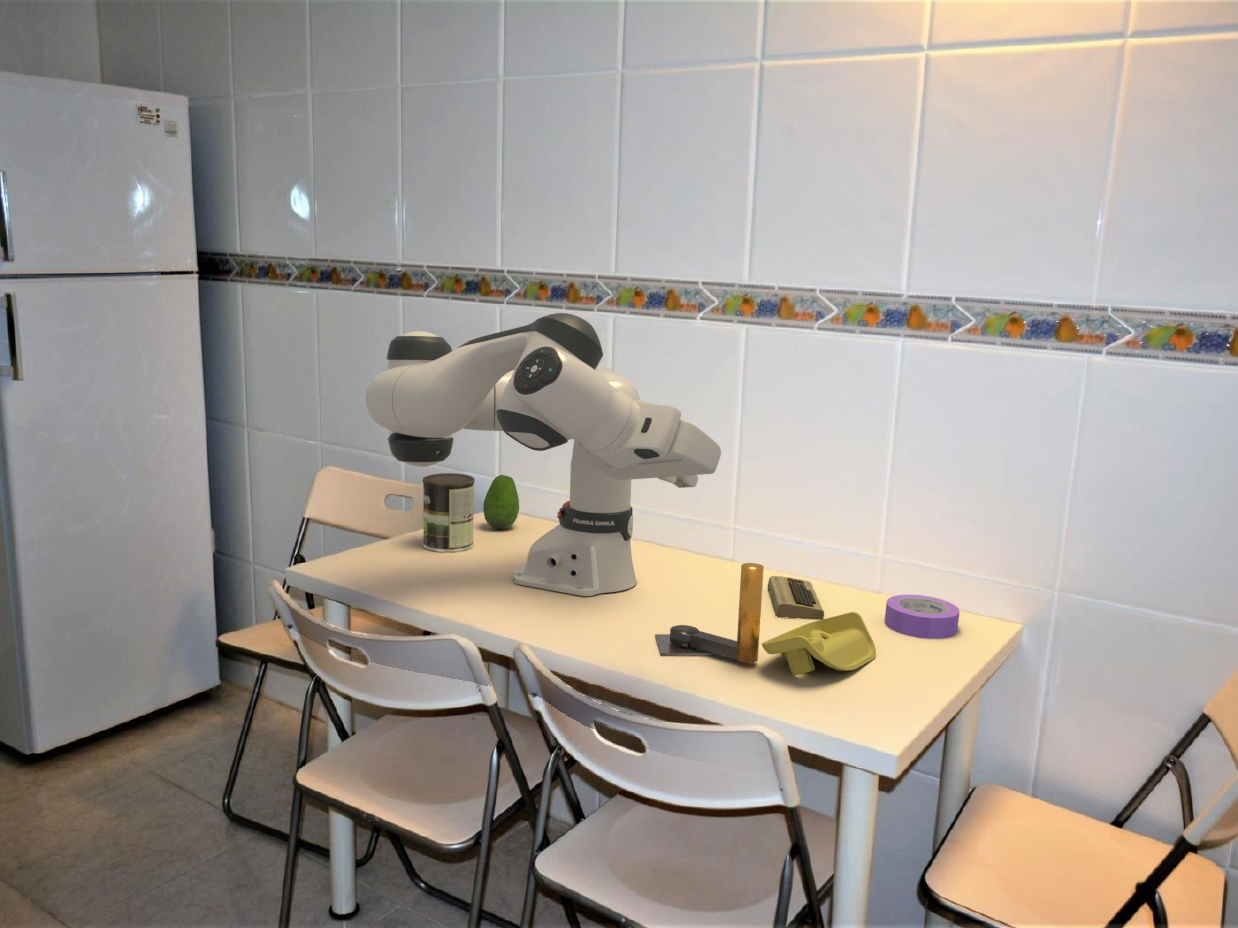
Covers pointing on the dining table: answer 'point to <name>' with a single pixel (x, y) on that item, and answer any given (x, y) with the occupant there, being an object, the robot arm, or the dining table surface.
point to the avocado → (501, 503)
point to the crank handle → (747, 623)
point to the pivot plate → (677, 648)
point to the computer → (794, 598)
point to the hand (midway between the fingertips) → (689, 483)
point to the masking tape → (922, 616)
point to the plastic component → (825, 644)
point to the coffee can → (448, 512)
